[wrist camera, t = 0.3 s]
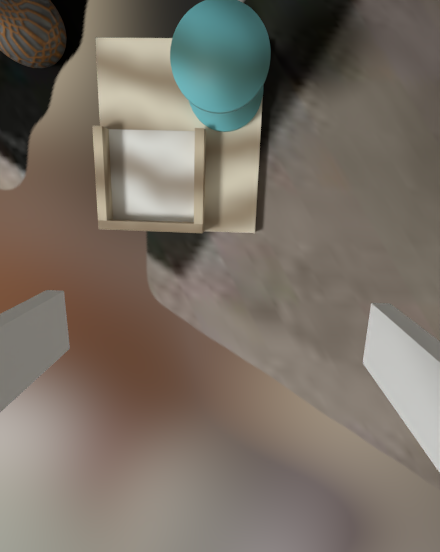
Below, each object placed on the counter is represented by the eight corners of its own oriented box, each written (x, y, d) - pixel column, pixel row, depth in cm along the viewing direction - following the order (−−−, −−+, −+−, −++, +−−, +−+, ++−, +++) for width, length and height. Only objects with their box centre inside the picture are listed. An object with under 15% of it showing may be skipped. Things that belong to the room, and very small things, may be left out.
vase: (36, -11, 35) (-30, -75, 27) (88, 35, 36) (41, -13, 28) (4, 47, 37) (-67, 3, 28) (55, 90, 38) (1, 60, 29)
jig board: (99, 41, 36) (42, -19, 26) (265, 43, 35) (275, -19, 25) (108, 226, 41) (64, 237, 31) (254, 232, 40) (259, 245, 30)
